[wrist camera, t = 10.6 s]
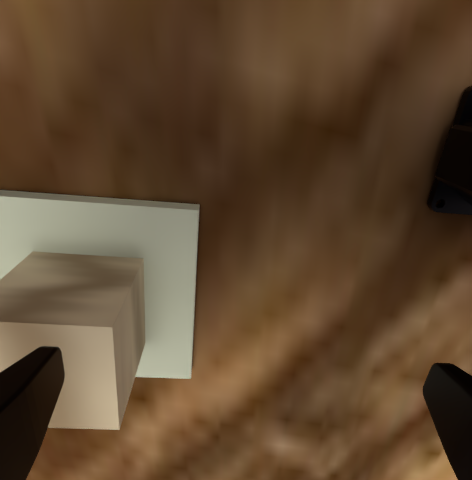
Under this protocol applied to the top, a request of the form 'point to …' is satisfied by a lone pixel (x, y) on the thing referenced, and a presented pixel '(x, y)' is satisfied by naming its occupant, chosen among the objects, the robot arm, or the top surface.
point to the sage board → (119, 245)
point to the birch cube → (78, 329)
